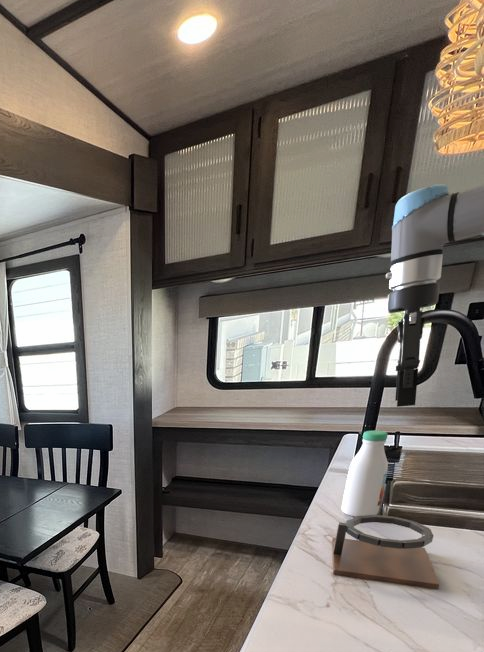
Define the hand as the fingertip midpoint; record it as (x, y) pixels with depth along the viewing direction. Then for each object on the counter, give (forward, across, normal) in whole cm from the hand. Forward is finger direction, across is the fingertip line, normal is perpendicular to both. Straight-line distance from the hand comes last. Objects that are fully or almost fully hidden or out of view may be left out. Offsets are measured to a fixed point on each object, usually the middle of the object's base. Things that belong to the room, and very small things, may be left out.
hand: (404, 402), depth 93 cm
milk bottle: (+27, -14, -7) cm, 31 cm away
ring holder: (+30, +13, -2) cm, 33 cm away
